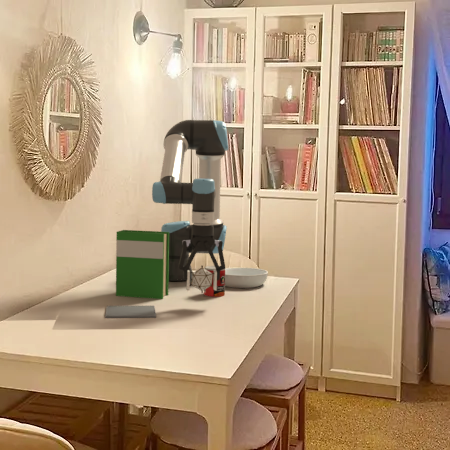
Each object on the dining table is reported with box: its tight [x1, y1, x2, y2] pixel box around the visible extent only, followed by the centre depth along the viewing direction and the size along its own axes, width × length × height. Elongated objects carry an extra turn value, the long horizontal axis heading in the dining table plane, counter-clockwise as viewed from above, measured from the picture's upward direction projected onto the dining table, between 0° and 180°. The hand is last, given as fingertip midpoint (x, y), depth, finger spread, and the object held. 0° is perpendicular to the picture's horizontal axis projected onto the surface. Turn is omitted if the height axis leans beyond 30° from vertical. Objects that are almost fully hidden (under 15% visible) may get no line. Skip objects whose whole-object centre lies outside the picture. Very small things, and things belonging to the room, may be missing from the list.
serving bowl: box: [225, 267, 269, 289], centre depth 284 cm, size 21×21×7 cm
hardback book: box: [115, 229, 169, 300], centre depth 260 cm, size 18×7×24 cm, turn 78°
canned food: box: [203, 265, 226, 298], centre depth 264 cm, size 8×8×11 cm
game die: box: [190, 265, 214, 294], centre depth 244 cm, size 9×8×10 cm
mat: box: [104, 305, 157, 319], centre depth 234 cm, size 16×16×1 cm
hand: (201, 289), depth 244 cm, fingers closed on game die, 9 cm apart
